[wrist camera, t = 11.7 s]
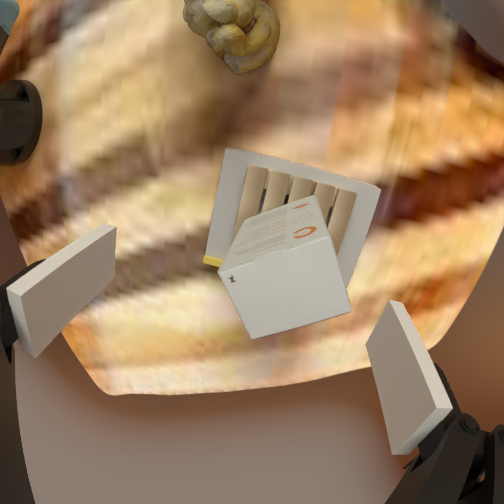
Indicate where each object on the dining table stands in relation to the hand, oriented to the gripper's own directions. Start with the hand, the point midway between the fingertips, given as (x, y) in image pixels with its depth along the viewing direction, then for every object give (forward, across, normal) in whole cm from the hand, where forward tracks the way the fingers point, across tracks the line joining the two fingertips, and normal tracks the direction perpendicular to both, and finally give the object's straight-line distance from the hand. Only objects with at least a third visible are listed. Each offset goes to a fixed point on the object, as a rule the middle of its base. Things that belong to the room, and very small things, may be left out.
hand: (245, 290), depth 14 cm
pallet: (+22, +3, -3) cm, 23 cm away
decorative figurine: (+26, -7, +17) cm, 32 cm away
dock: (+25, +3, -3) cm, 26 cm away
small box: (+20, +3, -3) cm, 20 cm away
